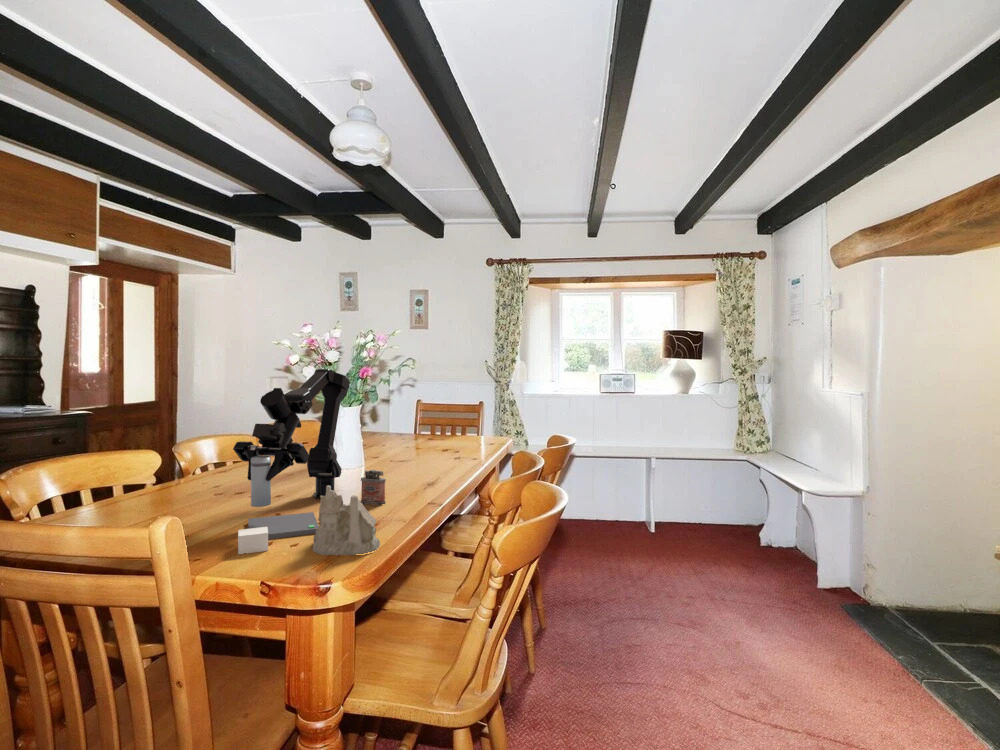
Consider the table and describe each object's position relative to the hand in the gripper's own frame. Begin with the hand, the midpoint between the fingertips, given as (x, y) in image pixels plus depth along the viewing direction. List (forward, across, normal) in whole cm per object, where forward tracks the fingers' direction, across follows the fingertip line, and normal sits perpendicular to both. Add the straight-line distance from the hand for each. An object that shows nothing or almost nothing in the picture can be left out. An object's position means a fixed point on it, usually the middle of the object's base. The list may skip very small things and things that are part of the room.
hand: (257, 479), depth 135 cm
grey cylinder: (+4, 0, +6) cm, 7 cm away
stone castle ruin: (+14, +27, +4) cm, 31 cm away
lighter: (-12, +18, +30) cm, 37 cm away
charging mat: (+10, +7, +7) cm, 15 cm away
